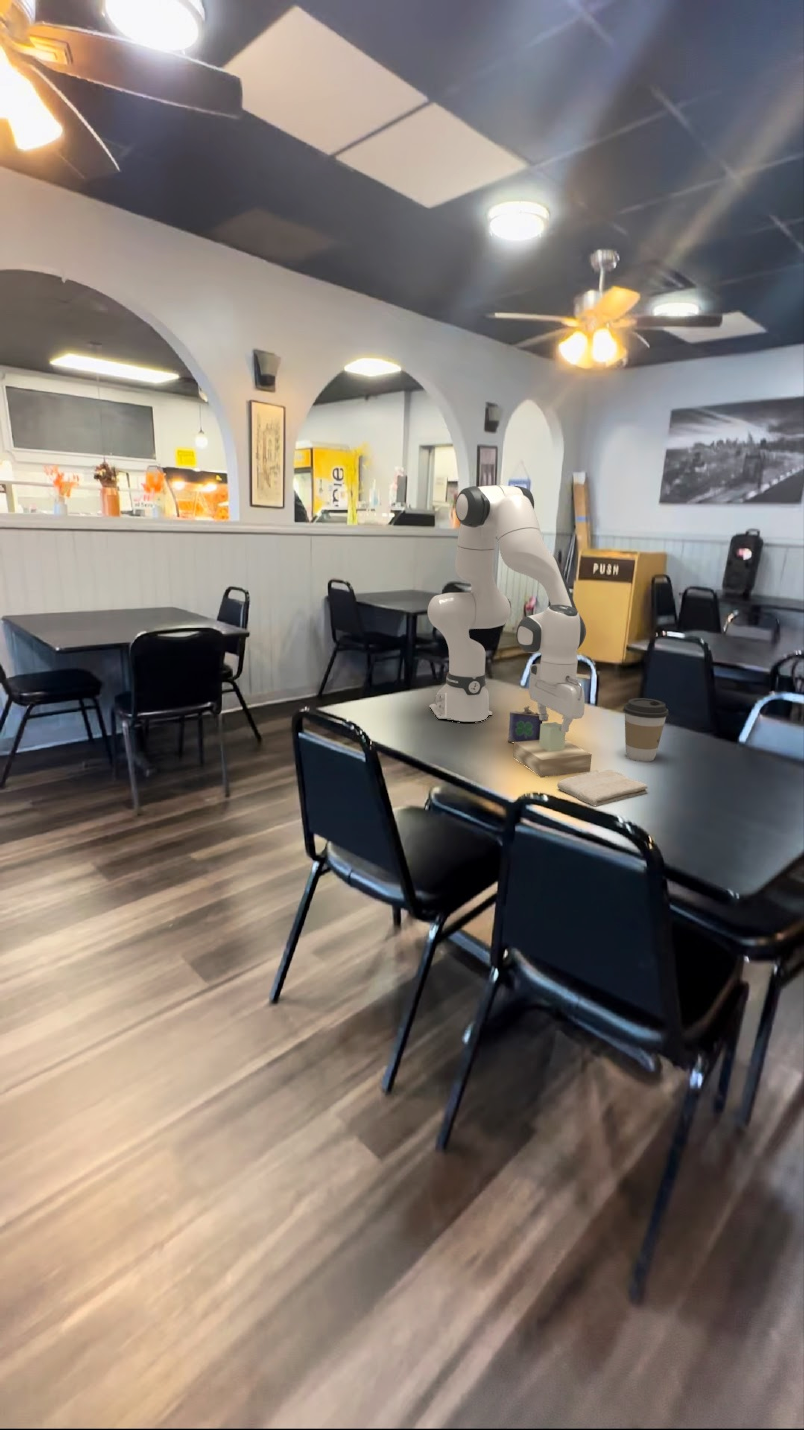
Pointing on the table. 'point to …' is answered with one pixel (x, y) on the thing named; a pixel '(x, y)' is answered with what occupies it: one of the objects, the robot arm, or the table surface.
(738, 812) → the table surface
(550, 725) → the sage block
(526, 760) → the birch block
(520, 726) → the dark blue flattened pouch
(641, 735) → the coffee cup
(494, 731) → the table surface
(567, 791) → the washcloth
